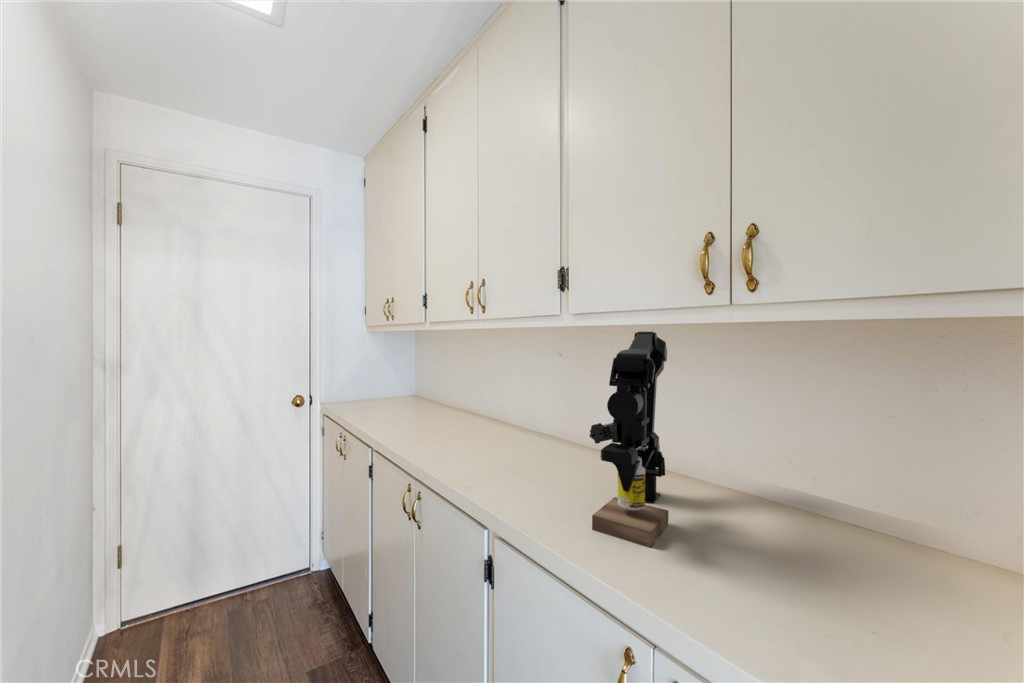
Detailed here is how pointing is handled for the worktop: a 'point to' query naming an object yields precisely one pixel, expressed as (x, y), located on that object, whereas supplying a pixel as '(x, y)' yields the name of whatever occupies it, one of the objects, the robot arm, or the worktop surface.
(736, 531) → the worktop surface
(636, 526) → the walnut plinth
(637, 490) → the supplement bottle
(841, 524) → the worktop surface
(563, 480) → the worktop surface
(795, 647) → the worktop surface
